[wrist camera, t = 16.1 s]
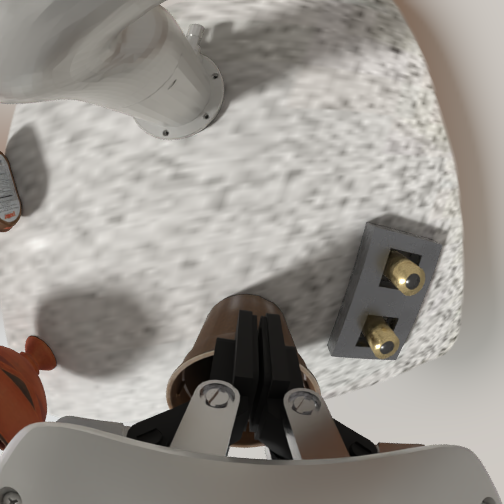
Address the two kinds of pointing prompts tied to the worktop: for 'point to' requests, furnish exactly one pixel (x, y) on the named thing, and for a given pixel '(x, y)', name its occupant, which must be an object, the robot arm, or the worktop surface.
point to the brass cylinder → (404, 273)
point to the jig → (380, 296)
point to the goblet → (22, 387)
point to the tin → (8, 197)
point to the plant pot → (201, 356)
